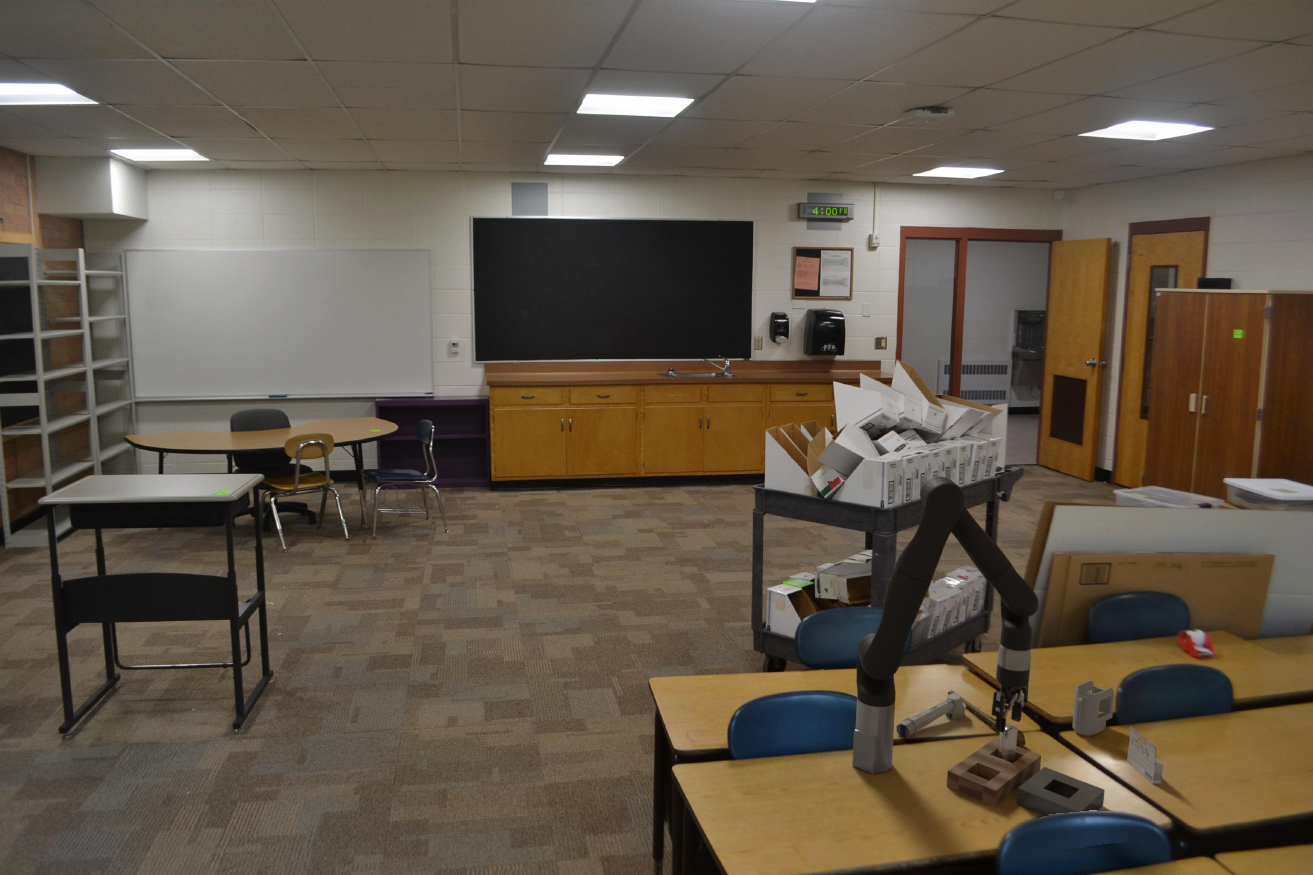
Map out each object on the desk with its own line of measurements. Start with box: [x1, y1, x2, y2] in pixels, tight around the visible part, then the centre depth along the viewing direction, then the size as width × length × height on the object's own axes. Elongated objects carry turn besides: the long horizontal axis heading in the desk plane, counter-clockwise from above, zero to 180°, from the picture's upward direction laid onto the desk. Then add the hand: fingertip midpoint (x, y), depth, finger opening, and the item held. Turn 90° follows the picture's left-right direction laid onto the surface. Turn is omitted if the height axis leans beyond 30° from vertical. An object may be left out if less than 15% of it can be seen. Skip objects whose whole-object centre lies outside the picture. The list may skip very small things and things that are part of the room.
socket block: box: [1016, 766, 1105, 816], centre depth 213 cm, size 14×14×4 cm
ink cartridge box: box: [1126, 726, 1164, 785], centre depth 227 cm, size 2×11×10 cm, turn 4°
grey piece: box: [896, 692, 967, 739], centre depth 252 cm, size 5×7×25 cm
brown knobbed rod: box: [947, 689, 1026, 748], centre depth 254 cm, size 5×35×5 cm
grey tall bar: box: [998, 723, 1018, 763], centre depth 228 cm, size 4×4×11 cm
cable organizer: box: [1071, 679, 1115, 737], centre depth 249 cm, size 7×13×12 cm, turn 125°
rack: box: [946, 737, 1042, 807], centre depth 224 cm, size 24×12×4 cm, turn 134°
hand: (1008, 725), depth 227 cm, fingers open, 8 cm apart
